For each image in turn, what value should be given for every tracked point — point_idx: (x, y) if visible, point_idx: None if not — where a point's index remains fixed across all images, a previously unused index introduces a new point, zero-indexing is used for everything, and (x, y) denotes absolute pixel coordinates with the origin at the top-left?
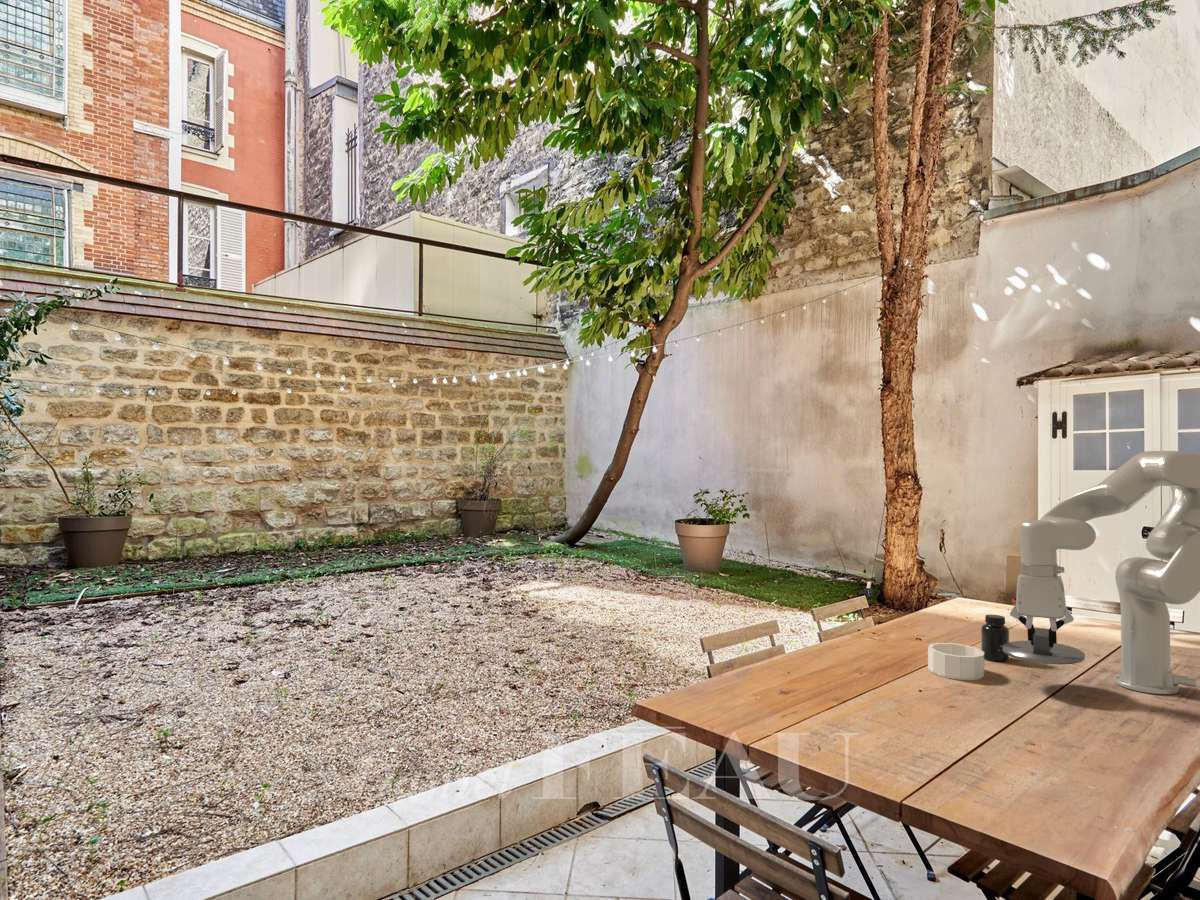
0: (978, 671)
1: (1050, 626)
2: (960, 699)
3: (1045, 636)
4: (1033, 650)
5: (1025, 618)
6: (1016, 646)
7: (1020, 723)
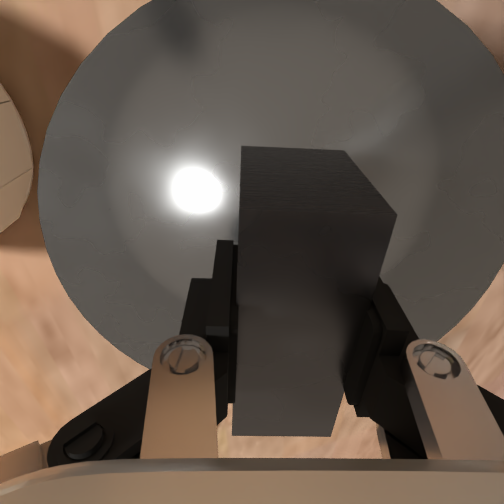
0: (12, 206)
1: (389, 379)
2: (72, 389)
3: (312, 433)
4: None
5: (132, 450)
6: (123, 231)
7: (221, 444)
